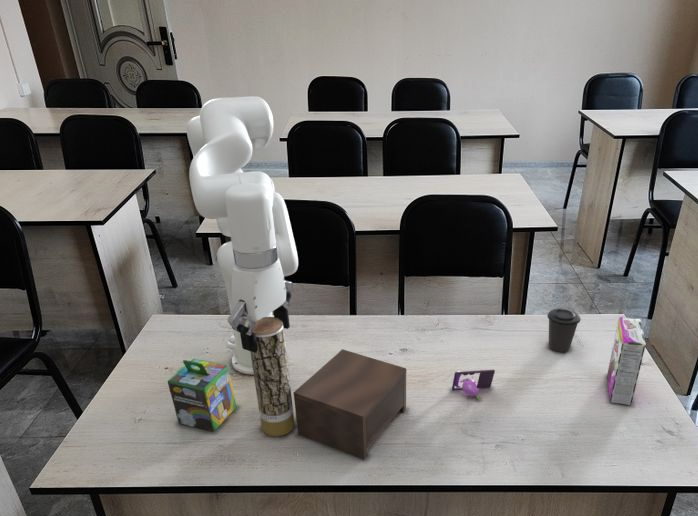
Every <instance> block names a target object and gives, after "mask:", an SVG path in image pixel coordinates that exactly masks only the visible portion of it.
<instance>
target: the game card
mask: <svg viewBox="0 0 698 516" xmlns="http://www.w3.org/2000/svg"><path fill="white" fill-rule="evenodd" d="M495 373H496V371H495V369H483V370H482V369H481V370H467V371H465V370H464V371H460V370H457V371H454V374H453V380H452V386H451V391H463V392H464V393H465V394H466V395H468V396H475V398H476V399H477V401H480V396H479V391H480V389H490V388H491V387H492V384H493V380H494V376H495ZM475 374H479V375H478V379H477V381H475V380H474V379H472V378H464V379H462V380H461V381H460V378H461V376H468V375H469V376H474V375H475ZM459 383H460V384H461V383H462V387H461V386H459Z"/></svg>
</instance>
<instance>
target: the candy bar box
mask: <svg viewBox="0 0 698 516" xmlns="http://www.w3.org/2000/svg"><path fill="white" fill-rule="evenodd" d="M617 319H618V320H617V325H616V328H615V329H616V330H615V334H614V339H613V343H612V344H613V345H612V348H611V355H610V359H609V363H608V369H607V373H606V379H607V387H608V395H609V396H608V398H609V403H610V404H615V405H624V406H632V404H633V399H634V395H635V391H636V389H637V388H636V387H637V383H638V379H639V374H640V372H641V371H640V370H641V367H642V363H643V358H644V353H645V350H646V346H647V345H646V339H645V334H644V329H643V324H642V320H641V318H633V317H625V316H618V318H617Z"/></svg>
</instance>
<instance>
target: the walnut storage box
mask: <svg viewBox="0 0 698 516" xmlns="http://www.w3.org/2000/svg"><path fill="white" fill-rule="evenodd" d="M293 401H294V409H295V418H296V427H297V435H298V436H300V437H302V438H306V439H308V440H311V441H313V442H316V443H319V444H322V445H324V446H327V447H329V448H332V449H334V450H337V451H340V452H343V453H345V454H347V455H350V456H354V457H357V459H358V458H359V459H361V460H363V461H365V460H366V458H367V457H368V448H369V447H370V446H371V445H372V444H373V443H374V442H375V440H376V439H377V438H378V437H379V435H381V433H382V432H383V431H384V429H386V427H387V426H388V425H389V424H390V422H391V421H392V420H393V419H394V418H395V416H396V415H397V414H398V413H399V412H401V413H405V411H406V410H407V368H406V367H403V366H400V365H396V364H393V363H390V362H386V361H383V360H380V359H376V358H374V357H370V356H366V355H363V354H360V353H357V352H353V351H349V350H346V349H343V348H341V350H339V351H338V352H337V353H336V354H335V355H334V356H333V357H331V358H330V359H329V360H328V361H327V362H326V363H325V364H324V365H322V367H321V368H319V369H318V370H317V371H316V372H315V373H313V374H312V375H311V376H310V377H309V378H308V379H307V380H305V381H304V383H302V384H301V385H300V386H299V387H297V389H296V390H295V391H293Z"/></svg>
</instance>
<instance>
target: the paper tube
mask: <svg viewBox="0 0 698 516" xmlns="http://www.w3.org/2000/svg"><path fill="white" fill-rule="evenodd" d="M247 327H248V325H247ZM253 333H255V334H256V340H257V347H258V351H257V352H255V353H254V352H251V351H250V353H251V360H252V366H253V373H254V375H253V378H254V385H255V386H254V387H255V392H256V398H257V404H258V411H259V416H260V423H261V429H262V431H263V433H265V434H266V435H267V436H269V437H283V436H286V435H287V434H289V433H291V431H293V429H294V427H295V414H294V407H293V405H294V404H293V397H292V396H293V395H292V388H291V380H290V372H289V371H290V370H289V362H288V355H287V345H286V344H287V343H286V336H285V328H284V327H283V322H282V321H281V320H280V319H278V318H275V317H274V316H273V317H263V318H262V319H260V320H258V321H256V324H255V327H254V330H253Z"/></svg>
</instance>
